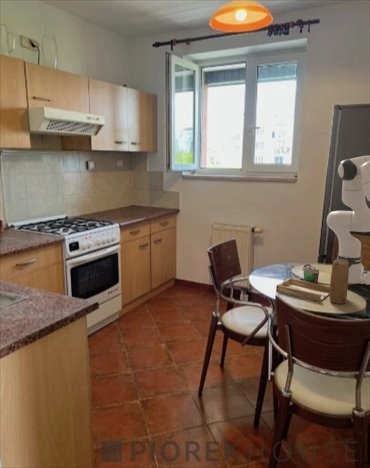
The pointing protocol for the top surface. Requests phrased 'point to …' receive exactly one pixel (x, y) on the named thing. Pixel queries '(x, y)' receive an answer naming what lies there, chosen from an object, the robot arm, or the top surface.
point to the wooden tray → (304, 289)
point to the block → (339, 281)
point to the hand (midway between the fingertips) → (361, 282)
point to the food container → (310, 274)
